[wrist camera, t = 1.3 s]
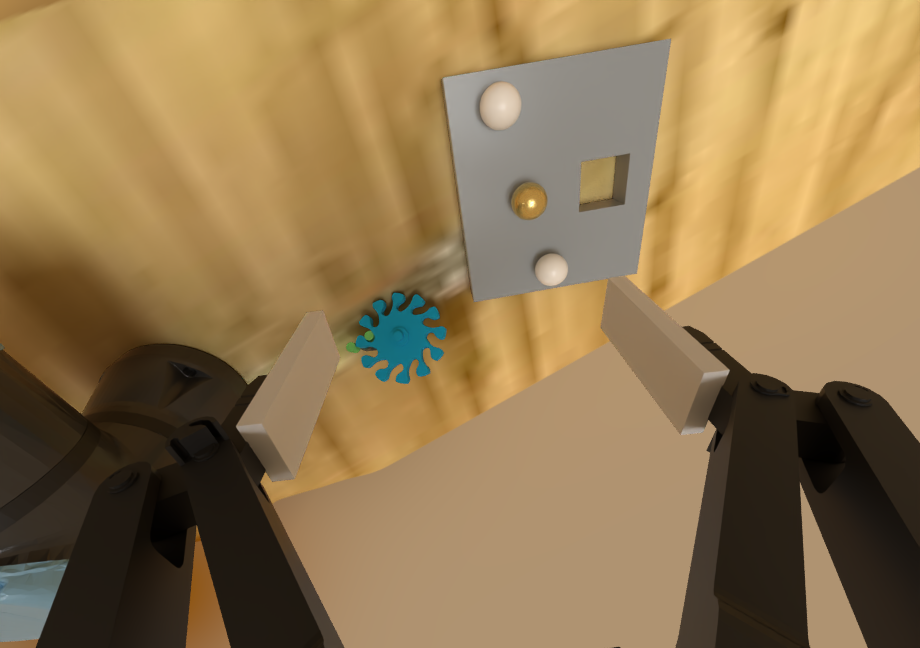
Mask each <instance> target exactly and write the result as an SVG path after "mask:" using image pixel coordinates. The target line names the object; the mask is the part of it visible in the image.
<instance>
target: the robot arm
mask: <svg viewBox="0 0 920 648" xmlns="http://www.w3.org/2000/svg"><path fill="white" fill-rule="evenodd" d="M601 329H602V330H603V332H604V333H605V334H606V336H607V337H608V338H609V340H610V341H611V342H612V344H613V345H614V347H615V348H616V349H617V350H618V352H619V353H620V355H621V356H622V357H623V359H624V360H625V361H626V362H627V364H628V365H629V366H630V368H631V369H632V371H633V372H634V373H635V375H636V376H637V377H638V379H639V380H640V381H641V383H642V384H643V385H644V387H645V388H646V389H647V391H648V392H649V393H650V395H651V396H652V397H653V399H654V400H655V401H656V403H657V404H658V405H659V407H660V408H661V409H662V411H663V412H664V414H665V415H666V416H667V418H668V419H669V420H670V422H671V423H672V424H673V426H674V427H675V428H676V430H677V431H678V432H679V434H680V435H684V434H693V433H702V432H703V431H704V429H705V427H706V424H707V422H708V420H709V421H710V422H711V423H712V424H713V425H714V426H715V428H716V431H715V433H714V436H713V438H712V440H711V442H710V444H709V446H708V449H707V451H708V452H710V459H709V464H708V469H707V475H706V481H705V487H704V492H703V498H702V505H701V510H700V516H699V522H698V527H697V533H696V539H695V544H694V550H693V556H692V562H691V567H690V573H689V579H688V585H687V590H686V596H685V602H684V608H683V613H682V620H681V625H680V631H679V636H678V641H677V644H676V648H810V646H809V640H808V627H807V608H806V590H805V571H804V553H803V535H802V516H801V497H800V483H801V485H802V488H803V490H804V493H805V495H806V498H807V500H808V502H809V505H810V507H811V510H812V512H813V514H814V517H815V520H816V522H817V524H818V527H819V529H820V531H821V534H822V537H823V539H824V542H825V544H826V546H827V549H828V551H829V554H830V556H831V559H832V561H833V563H834V566H835V568H836V571H837V573H838V576H839V578H840V581H841V583H842V586H843V588H844V590H845V593H846V595H847V598H848V600H849V603H850V605H851V608H852V610H853V612H854V615H855V617H856V620H857V622H858V625H859V627H860V629H861V632H862V634H863V637H864V639H865V642H866V644H867V647H868V648H920V443H919V441H918V440H917V439H916V438H915V436H914V435H913V434H912V433H911V431H910V430H909V429H908V427H907V426H906V425H905V424H904V423H903V421H902V420H901V419H900V417H899V416H898V415H897V414H896V412H895V411H894V410H893V408H892V407H891V406H890V405H889V403H888V402H887V401H886V400H885V399H884V398H882V397H881V396H880V395H878V394H877V393H875V392H873V391H871V390H870V389H868V388H865V387H862V386H860V385H857V384H852V383H848V382H840V381H833V382H828V383H826V385H825V386H824V387H823V389H822V390H821V392H820V393H813V392H803V391H794V390H792V389H791V388H790V387H789V386H788V385H787V384H785V383H783V382H781V381H780V380H778V379H776V378H773V377H770V376H767V375H763V374H757V373H756V374H755V373H753V374H751V373H750V372H749V371H748V370H747V369H745V368H744V367H743V366H742V365H741V364H740V363H738V362H737V361H736V360H735V359H734V358H732V357H731V356H730V355H729V354H728V353H727V352H725V351H724V350H722V348H721V347H720V346H718V345H717V344H716V343H713V341H712V340H711V339H710V338H709V337H708V336H707V335H705V334H704V333H703V332H701V331H699V330H696V329H694V328H692V327H690V326H685V327H681V326H680V325H679V324H678V323H677V322H676V321H674V320H673V319H672V318H671V317H670V316H669V315H668V314H667V313H666V312H664V311H663V310H662V309H661V308H660V307H659V306H658V305H657V304H656V303H654V302H653V301H652V300H651V299H650V298H649V297H648V296H647V295H645V294H644V293H643V292H642V291H641V290H640V289H639V288H638V287H637V286H635V285H634V284H633V283H632V282H631V281H630V280H629V279H628V278H627V277H625V276H620V277H612V278H608V283H607V289H606V296H605V302H604V309H603V316H602V322H601ZM3 349H5V347H4V346H3V345H2V344H1V343H0V642H5V641H21V640H31V639H39V640H38V643H37V646H36V648H185V647H186V636H187V625H188V614H189V603H190V592H191V581H192V569H193V558H194V547H195V537H196V526H197V527H198V531H199V534H200V538H201V542H202V545H203V549H204V552H205V556H206V559H207V563H208V567H209V570H210V574H211V578H212V581H213V585H214V588H215V592H216V595H217V599H218V603H219V606H220V610H221V613H222V617H223V621H224V624H225V628H226V631H227V635H228V639H229V642H230V646H231V648H344V646H343V644H342V642H341V640H340V638H339V636H338V634H337V632H336V630H335V628H334V626H333V624H332V622H331V620H330V618H329V616H328V614H327V612H326V610H325V608H324V606H323V604H322V603H321V600H320V598H319V596H318V594H317V592H316V591H315V588H314V586H313V584H312V582H311V580H310V578H309V576H308V574H307V573H306V570H305V568H304V567H303V565H302V562H301V560H300V558H299V556H298V555H297V552H296V551H295V548H294V546H293V544H292V542H291V541H290V539H289V537H288V535H287V533H286V531H285V529H284V527H283V525H282V523H281V521H280V519H279V517H278V515H277V513H276V511H275V509H274V507H273V505H272V503H271V501H270V499H269V497H268V495H267V493H266V491H265V489H264V487H263V486H262V484H261V483H260V482H261V479H262V477H263V475H264V473H265V471H266V473H267V475H268V476H269V478H270V479H271V481H272V482H274V481H282V480H291V479H295V477H296V474H297V472H298V469H299V466H300V464H301V461H302V458H303V456H304V453H305V450H306V448H307V445H308V442H309V440H310V437H311V434H312V432H313V429H314V426H315V424H316V421H317V418H318V416H319V413H320V410H321V408H322V405H323V402H324V400H325V397H326V394H327V392H328V389H329V386H330V384H331V381H332V378H333V376H334V373H335V370H336V368H337V365H338V362H339V360H340V355H339V353H338V350H337V347H336V344H335V342H334V339H333V336H332V333H331V330H330V328H329V325H328V322H327V319H326V317H325V314H324V311H323V310H322V311H313V312H306V314H305V316H304V317H303V319H302V320H301V322H300V324H299V325H298V327H297V328H296V330H295V332H294V333H293V335H292V337H291V338H290V340H289V341H288V343H287V345H286V346H285V348H284V349H283V351H282V353H281V354H280V356H279V358H278V359H277V361H276V362H275V364H274V366H273V367H272V369H271V370H270V372H269V374H268V375H263V376H258V377H257V378H256V379H255V380H254V381H252V382H251V383H250V384H249V385H248V386H247V385H246V384H245V382H244V381H243V379H242V378H241V377H240V376H239V375H238V374H237V373H236V372H235V371H234V370H233V369H232V368H231V367H229V366H228V365H227V364H225V363H224V362H222V361H220V360H219V359H217V358H215V357H213V356H211V355H209V354H207V353H204V352H202V351H199V350H196V349H192V348H189V347H184V346H179V345H171V344H154V345H146V346H142V347H138V348H135V349H133V350H131V351H129V352H127V353H125V354H124V355H123V356H121V357H120V358H119V359H118V360H116V361H115V362H114V363H113V364H112V365H110V366H109V367H108V368H107V369H106V371H105V372H104V373H103V374H102V376H101V378H100V380H99V383H98V385H97V387H96V389H95V390H94V392H93V394H92V396H91V398H90V399H89V401H88V403H87V405H86V407H85V409H84V411H83V413H82V414H80V413H79V412H78V411H77V410H76V409H74V408H73V407H72V406H71V405H69V404H68V403H67V402H66V401H65V400H63V399H62V398H61V397H60V396H58V395H57V394H56V393H55V392H54V391H52V390H51V389H50V388H49V387H47V386H46V385H45V384H44V383H43V382H41V381H40V380H39V379H38V378H36V377H35V376H34V375H33V374H32V373H30V372H29V371H28V370H27V369H25V368H24V367H23V366H22V365H21V364H19V363H18V362H17V361H16V360H14V359H13V358H12V357H11V356H10V355H8V354H7V353H6V352H5V351H4V350H3ZM614 648H620V647H614Z"/></svg>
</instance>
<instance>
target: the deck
mask: <svg viewBox="0 0 920 648" xmlns="http://www.w3.org/2000/svg"><path fill="white" fill-rule="evenodd" d="M670 43H671V39H666V40H660V41H654V42H649V43H643V44H637V45H631V46H625V47H619V48H613V49H608V50H602V51H596V52H590V53H584V54H578V55H573V56H567V57H561V58H555V59H549V60H543V61H538V62H532V63H526V64H520V65H514V66H508V67H502V68H497V69H491V70H485V71H479V72H473V73H467V74H462V75H456V76H450V77H444V78H442V79H441V83H442V91H443V98H444V105H445V112H446V119H447V126H448V133H449V140H450V147H451V154H452V161H453V168H454V175H455V182H456V189H457V196H458V203H459V210H460V217H461V224H462V231H463V238H464V245H465V252H466V259H467V266H468V273H469V280H470V287H471V293H472V297H473V300H474V302H478V301H483V300H489V299H495V298H500V297H506V296H512V295H517V294H523V293H529V292H534V291H540V290H546V289H551V288H557V287H563V286H568V285H574V284H580V283H585V282H591V281H597V280H602V279H608V278H612V277H619V276H625V275H631V274H636V273H637V269H638V262H639V255H640V248H641V242H642V235H643V228H644V221H645V214H646V207H647V201H648V194H649V187H650V180H651V173H652V166H653V160H654V153H655V146H656V139H657V132H658V125H659V119H660V112H661V105H662V98H663V91H664V84H665V78H666V71H667V64H668V57H669V50H670ZM500 81H503V82H508V83H510V84H512V85H513V86H514V87H515V88H516V89H517V90H518V92H519V94H520V97H521V112H520V115H519V117H518V119H517V121H516V122H515V123H514V124H513V125H512V126H511V127H509V128H508V129H505V130H494V129H491V128H490V127H488V126H487V125H486V124H485V123H484V121H483V120H482V117H481V114H480V101H481V97H482V95H483V93H484V92H485V90H486V89H487V88H488V87H489V86H490V85H492V84H493V83H496V82H500ZM612 156H616V166H615V176H614V187H613V198H612V199H608V200H602V201H597V202H591V203H585V204H580V205H579V201H580V177H581V162H583V161H589V160H595V159H600V158H606V157H612ZM527 182H534V183H537V184H539V185H541V186H542V187H543V188H544V189H545V191H546V193H547V197H548V203H547V207H546V209H545V211H544V212H543V214H542V215H541V216H539V217H538V218H536V219H534V220H523V219H520V218H519V217H517V216H516V215H515V213H514V212H513V210H512V207H511V198H512V195H513V193H514V191H515V190H516V189H517V188H518V187H519V186H520V185H522V184H524V183H527ZM551 253H552V254H558V255H560V256H562V257H563V258H564V259H565V260H566V262H567V265H568V273H567V276H566V278H565V279H564V280H563V281H562V282H561V283H560V284H558V285H554V286H547V285H544V284H542V283H541V282H540V281H539V280H538V279H537V277H536V274H535V266H536V264H537V262H538V260H539V259H540V258H541V257H542V256H544V255H547V254H551Z"/></svg>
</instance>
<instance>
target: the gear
mask: <svg viewBox="0 0 920 648" xmlns="http://www.w3.org/2000/svg"><path fill="white" fill-rule="evenodd" d="M405 299H406V298H405V296H404V295H403V294H401V293H393V295H392V300H393V307H392V310H391V312H390V314H389V315H388V316H384V311H385V309H386V303H385V302H384V301H383V300H378V301H376V302H374V303H373V308H374V309H375V310H376V311H377V313H378V315H379V325H378V326H377V327H374V326H373V319H372V318H371V317H369V316H367V315H365V316H363V317H362V319H361V320H360V321H359V324H360V325H361V326H363V327H365V328H369V329H370V330H371V331H372V332H371V331H367V332H366V333H365V335H364V336H361V335H359V336H358V337H357V339H356V343H353V342H350V343H348V344H347V346H346V349H347V351H349V352H353V353H358V352H359V351H360V349H362V350H364V351H373V350H378V355H377V356H376V357H374V358H373V357H371V356H368V355H365V356H363V357H362V358H361V360H362V364H363V367H365V368H371V367H372V366H373V365H374V364H375V363H377V362H378V361H381V360H387V361H388V363H389V364H388V367H387V368H385V369H379V370H378V371H377V372H376V374H375V375H376V376H377V378H378V379H380V380H381V381H384V382H385V381H387V380H388V379H389V376H390V373H391V371H392V370H393V369H394V368H395V367H396V366H397V365H399V364H402V365H403V367H404V368H403V371H402V372H401V373H399V374H398V375H397V377H396V382H398V383H403V384H408V383H409V382H410V376H409V368H410V365H411V363H412V361H413V360H415V359H417V360H418V361H419V365H418V367H417V370H416V373H417V375H418V376H420V377H421V376H426V375H428V374H430V369H429V367H428V366H427V365H426V364H425V362H424V359H423V350H424V349H425V348H429V349H430V353H431V357H432V359H434V360H436V361H438V360H439V359H440V358H441V357H442V356H443V354H444V352H443V350H441V349H440V348H436V347H433V346H432V345H431V344H430V343H429V341H428V340H427V335H428V334H429V333H434V334H435V336H436V337H437V338H439V339H441V340H443V339H445V336H446V330H447V329H446V328H444V327H442V326H439V327H436V328H430V327H427V326H425V325H424V324H423V321H424V319H426V318H430V319H433V320H437V319H439V318H440V315H439V312H438V310H437V308H436V307H431V308H430V309H429V310H428V311H426V312H425V313H423V314H419V315H413V310H414V309H415V308H418V307H422V306H424V304H425V301H424V300H423V299H422V298H421V297H420V296H419V295H417V294H416V295H414V296H413V298H412V301H411V303H410V305H409V306H408V307H407V308H406V309H405V310H403V311H401V312H400V311H399V310H398V308H399V306H400V305H401V304H403V303H404V302H405Z"/></svg>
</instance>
